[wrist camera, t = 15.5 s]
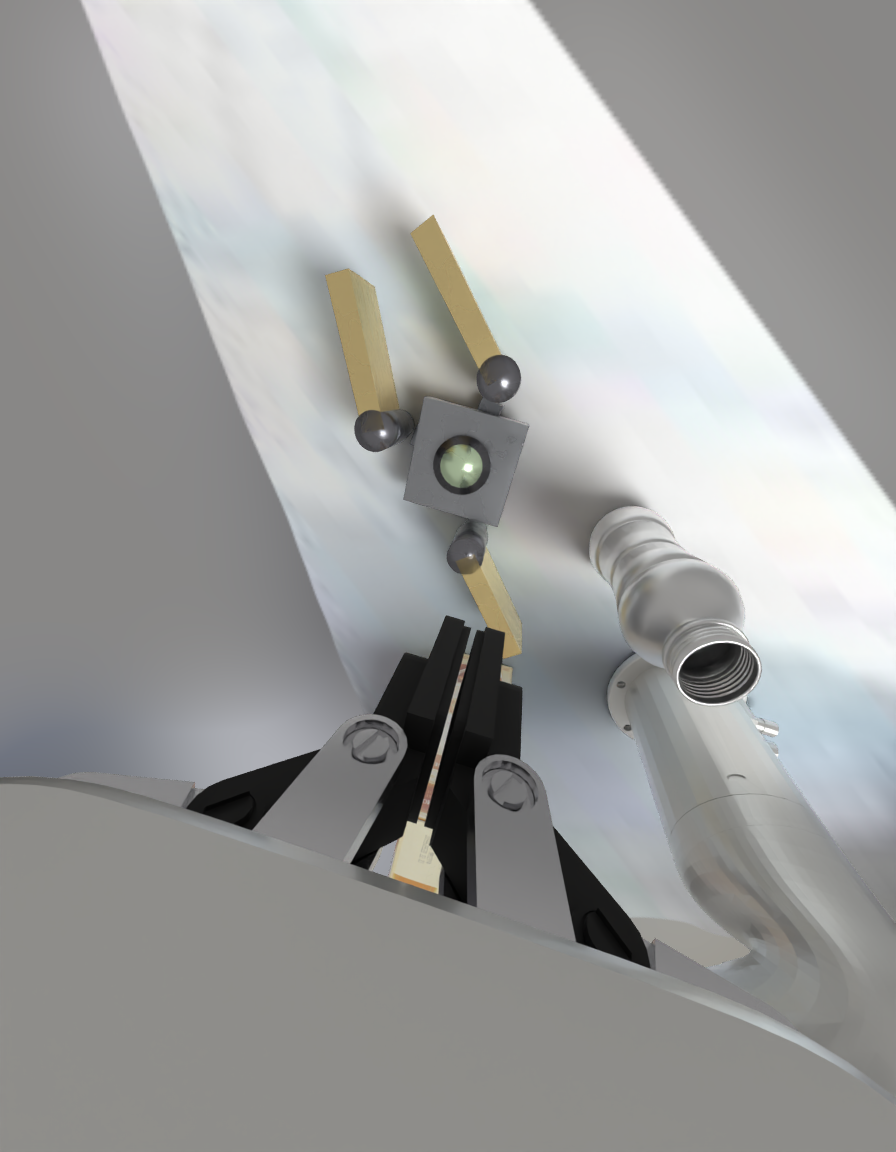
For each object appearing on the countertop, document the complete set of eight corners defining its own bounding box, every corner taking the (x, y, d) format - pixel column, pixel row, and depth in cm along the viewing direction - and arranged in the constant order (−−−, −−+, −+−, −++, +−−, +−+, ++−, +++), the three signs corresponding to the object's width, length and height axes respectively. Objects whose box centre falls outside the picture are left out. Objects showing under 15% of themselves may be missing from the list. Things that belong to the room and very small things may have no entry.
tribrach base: (532, 409, 34) (533, 412, 30) (497, 522, 39) (493, 540, 34) (426, 380, 35) (411, 378, 30) (403, 494, 39) (387, 509, 34)
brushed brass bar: (527, 388, 34) (528, 387, 27) (496, 407, 35) (489, 411, 28) (460, 247, 31) (442, 207, 24) (428, 272, 32) (402, 240, 25)
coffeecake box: (450, 648, 45) (403, 814, 27) (515, 666, 45) (510, 847, 27) (423, 747, 51) (371, 934, 34) (480, 764, 51) (457, 962, 33)
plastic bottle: (575, 563, 39) (620, 713, 21) (599, 491, 36) (675, 594, 18) (646, 578, 38) (755, 746, 20) (675, 507, 36) (832, 629, 18)
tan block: (420, 437, 37) (396, 448, 30) (389, 443, 37) (360, 454, 30) (392, 291, 33) (357, 265, 26) (358, 300, 33) (316, 277, 26)
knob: (455, 521, 39) (440, 548, 32) (482, 509, 38) (473, 534, 32) (501, 617, 42) (497, 660, 36) (527, 608, 42) (528, 651, 35)
